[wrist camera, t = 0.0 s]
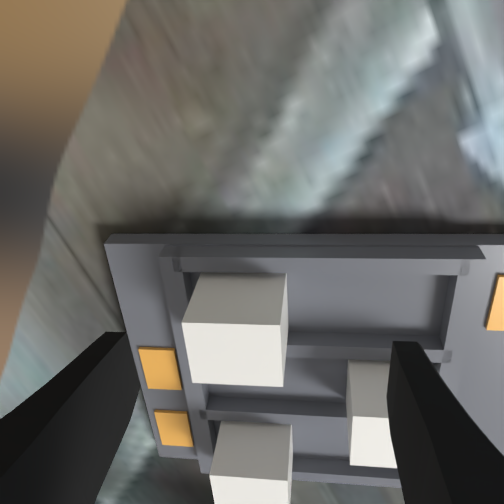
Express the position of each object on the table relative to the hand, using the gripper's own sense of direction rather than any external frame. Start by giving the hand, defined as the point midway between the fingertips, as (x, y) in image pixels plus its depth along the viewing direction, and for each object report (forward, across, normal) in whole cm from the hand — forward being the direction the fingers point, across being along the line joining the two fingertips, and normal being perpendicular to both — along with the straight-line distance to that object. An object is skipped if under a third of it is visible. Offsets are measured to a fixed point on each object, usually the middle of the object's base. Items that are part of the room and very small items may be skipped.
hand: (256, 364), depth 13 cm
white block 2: (+9, +2, +15) cm, 17 cm away
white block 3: (+9, -5, +10) cm, 14 cm away
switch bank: (+10, -2, +10) cm, 14 cm away
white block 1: (+9, +2, +4) cm, 10 cm away
